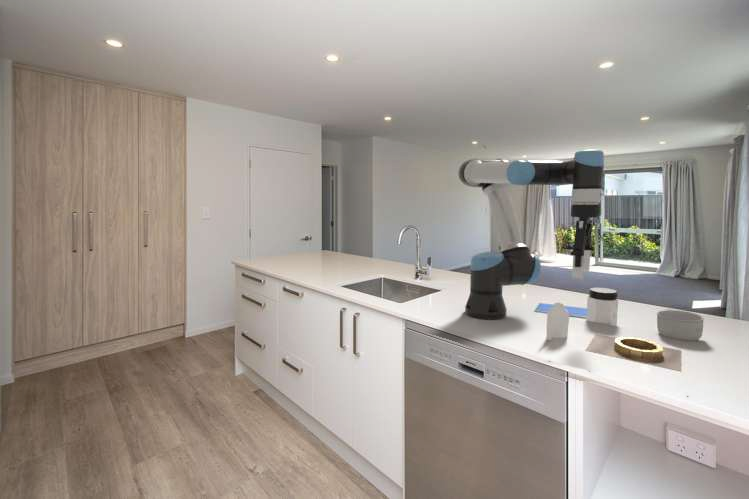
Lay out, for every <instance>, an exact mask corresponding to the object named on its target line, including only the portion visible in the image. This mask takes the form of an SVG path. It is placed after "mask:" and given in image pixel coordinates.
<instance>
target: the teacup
mask: <svg viewBox="0 0 749 499" xmlns="http://www.w3.org/2000/svg"><path fill="white" fill-rule="evenodd" d="M656 316H657V317H656V323H657V324H656V325H657V327H656V328H657V332H658V333H659V334H660V335H662V336H663V337H667V338H670V339H674V340H679V341H688V342H694V341H695V342H696V341H698V340H700V339H701V338H702V336H703V332H704V331H703V330H704V320H705V318H704V316H702V315H701V314H698V313H695V312H691V311H685V310H674V309H672V308H668V309H666V310H665V309H664V310H659V311H658V312H656Z"/></svg>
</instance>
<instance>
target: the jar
mask: <svg viewBox="0 0 749 499" xmlns="http://www.w3.org/2000/svg"><path fill="white" fill-rule="evenodd" d="M586 302H587V304H586V308H587V316H586V318H585V319H586V320H585V321H586V322H591V323H597V324H602V325H607V326H613V327H614V326H615V327H616V326H617V325H618V312H619V311H618V308H619V298H618V290H615V289H612V288H608V287H607V288H606V287H591V288H589V292H588V296H587V300H586Z"/></svg>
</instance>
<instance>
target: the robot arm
mask: <svg viewBox="0 0 749 499" xmlns="http://www.w3.org/2000/svg"><path fill="white" fill-rule="evenodd" d="M604 157H605V154H604V151H603V150H601V149H584V150H578V151H576V152H575V153H574V157H573V159H570V160H528V159H518V160H517V159H516V160H512V161H510V160H508V159H507V160H506V159H501V158H495V159H493V158H471V159H468V160H465V161H464V162H463V163H462V164H461V165H460V166H459V169H458V178H459V180H460V182H461V183H462V184H463V185H465V186H467V187H471V188H481V189H482V193H483V195H484V196H486V197H487V198H488V202H489V207H490V210H491V214H492V218H493V222H494V226H495V231H496V234H497V238H498V241H499V242H498V243H499V246H500V250H499V251H483V252H479V253H476V254H474V255H473V256H472V257H471V259H470V267H469V268H470V280H469V281H470V283H469V284H470V285H469V286H470V289H469V291H470V292H469V295H468V298H467V301H466V304H465V306H464V308H465V310H464V311H465V312H464V313H465V314H466V316H469V317H471V318H476V319H481V320H500V319H503V318H507V311H508V310H507V306H506V303H505V300H504V297H503V286H504V287H505V286H515V285H516V286H518V285H519V286H520V285H521V286H524V285H528V284H532V283H535V281H537V279H538V278H539V276H540V273H541V261H540V258H539V257H538V256H537V255H536V254H534V253H531V251H530V248H529V247H530V246H527V245H526V244H525V243H524V242H523V237H522V234H521V230H520V225H519V223H518V218H517V215H516V214H517V213H516V211H515V208H514V203H513V199H512V196H511V193H510V192H511V191H510V189H511V188H512V186H513V185H514V186H551V187H553V186H555V187H556V186H557V187H559V186H567V185H569V186H570V185H572V190H571V200H570V202H571V203H573V204H572V205H571V206H570V207H571V208H570V217H572V218H578V220H576V222H575V232H574V233H575V234H574V240H573V246H572V251H570V256H572V258H573V259H572V268H571V269H572V273H571V278H573V279H584V271H585V272H589V271H590V263H591V251H594V246H593V245H592V240H593V239H592V233H593V226H594V224H593V219H592V218H599V217H600V215H601V205H600V204H599V203H601V201H602V196H604V194H605V193H604V192H603V191H602V189H603V187H602V186H603V175H604V168H605V159H604Z"/></svg>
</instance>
